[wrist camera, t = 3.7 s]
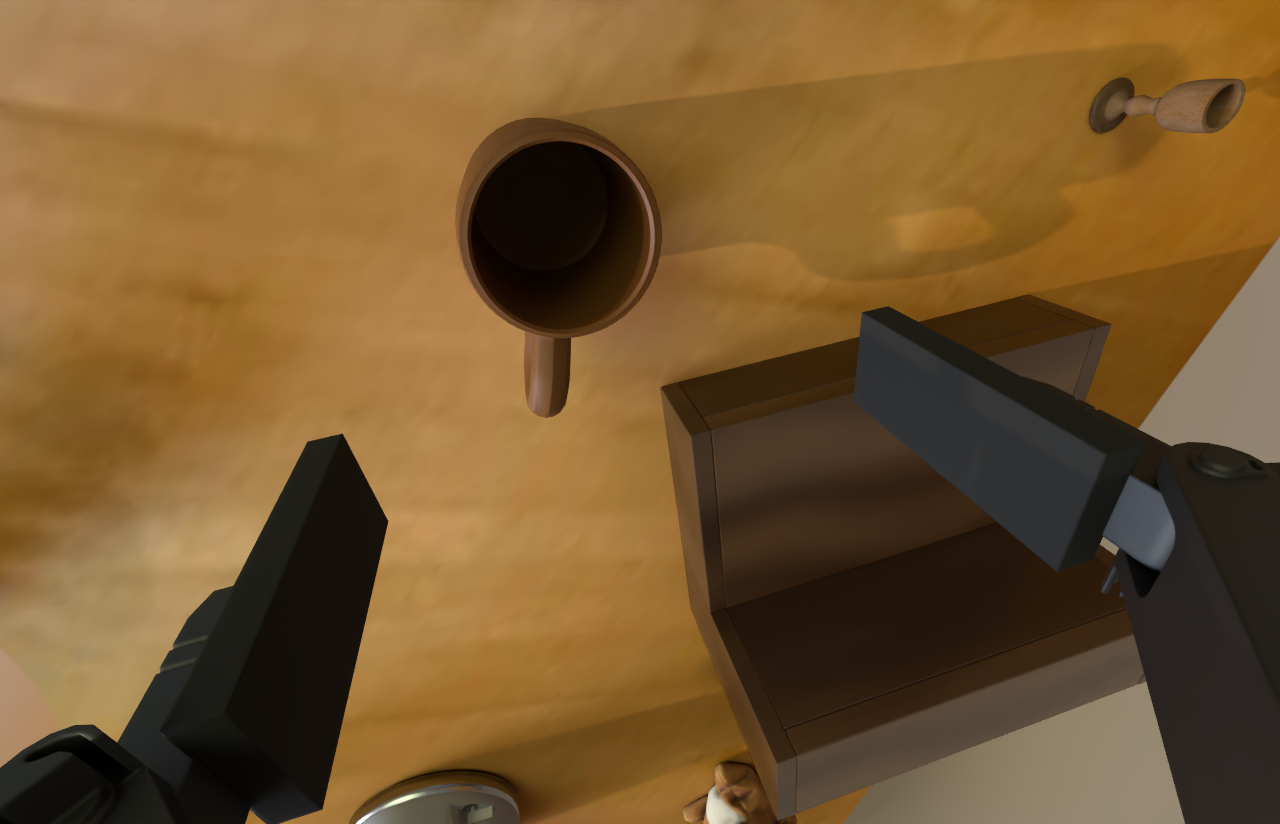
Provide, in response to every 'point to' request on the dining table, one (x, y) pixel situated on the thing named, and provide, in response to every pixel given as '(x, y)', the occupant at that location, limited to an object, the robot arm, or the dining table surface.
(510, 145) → the mug
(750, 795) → the stuffed squirrel
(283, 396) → the dining table surface
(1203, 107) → the place setting
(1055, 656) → the stepped stand
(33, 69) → the dining table surface
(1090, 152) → the dining table surface
